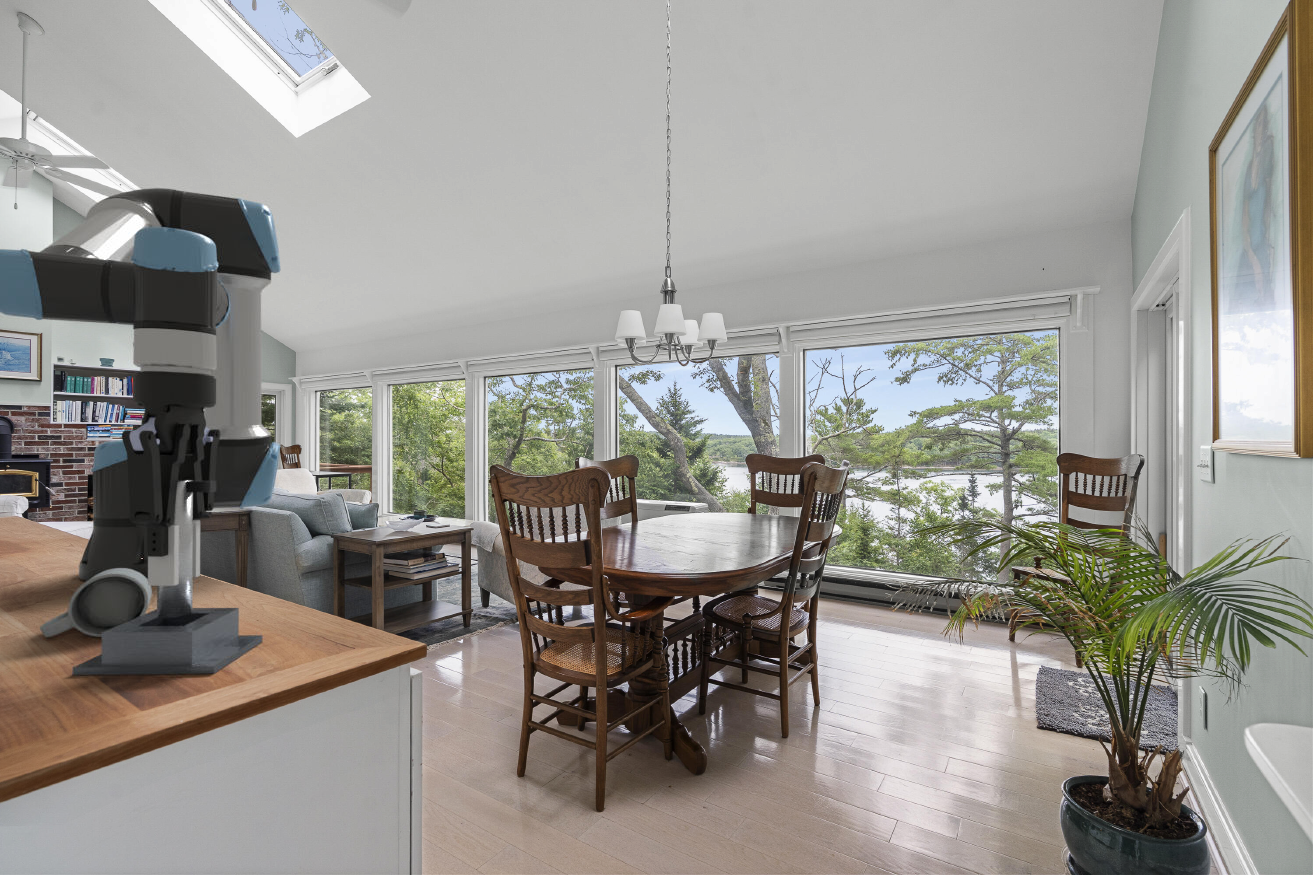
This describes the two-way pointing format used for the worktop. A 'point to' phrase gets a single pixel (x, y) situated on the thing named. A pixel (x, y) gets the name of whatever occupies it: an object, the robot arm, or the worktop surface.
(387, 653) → the worktop surface
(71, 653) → the worktop surface
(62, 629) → the ceramic mug
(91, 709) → the worktop surface
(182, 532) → the t key
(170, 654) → the chuck block
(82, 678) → the worktop surface
